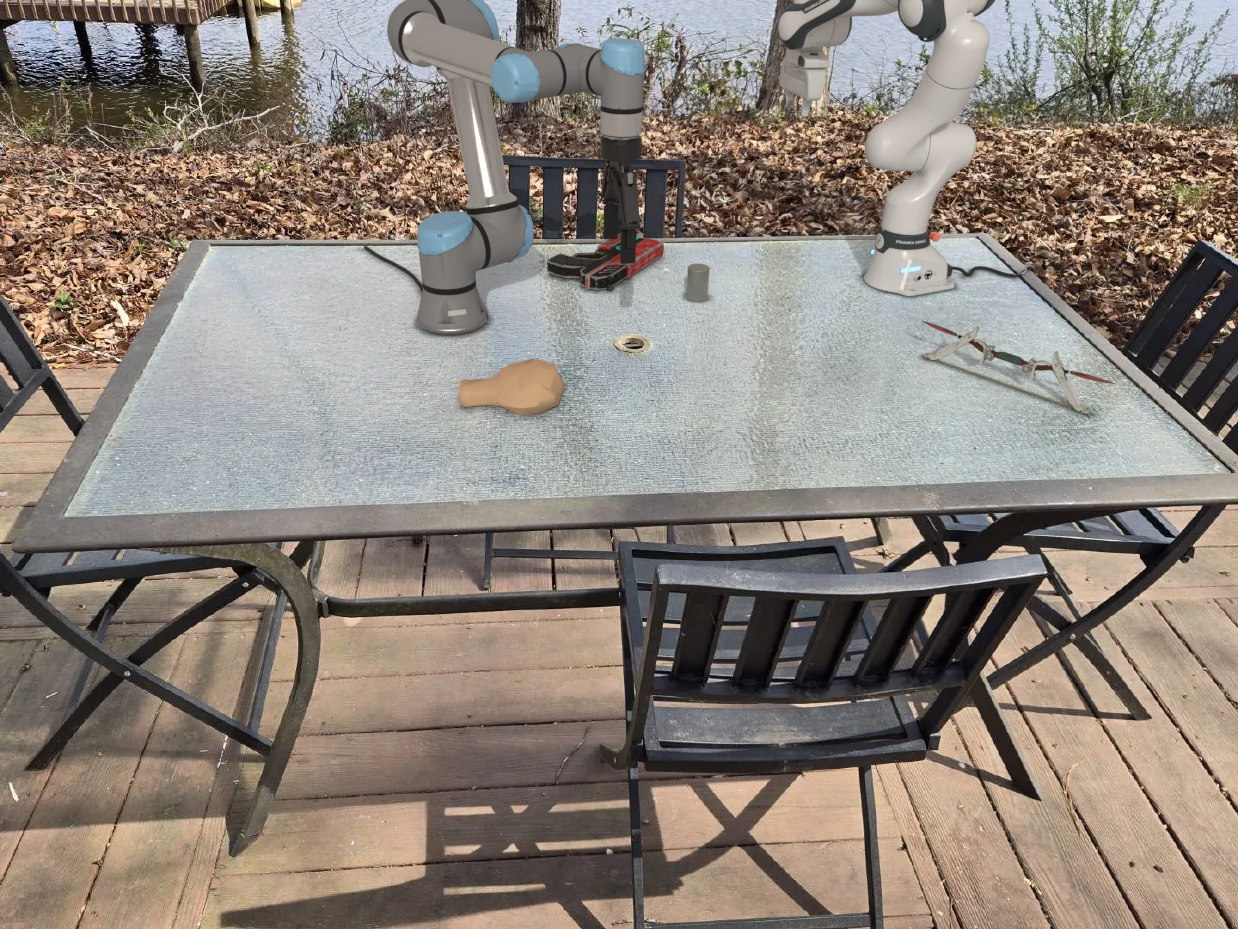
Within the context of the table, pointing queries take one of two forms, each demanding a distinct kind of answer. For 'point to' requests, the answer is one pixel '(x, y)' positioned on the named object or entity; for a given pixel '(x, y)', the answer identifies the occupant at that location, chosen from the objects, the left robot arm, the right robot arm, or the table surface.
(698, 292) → the can
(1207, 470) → the table surface
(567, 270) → the gun
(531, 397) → the squash
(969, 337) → the bow
